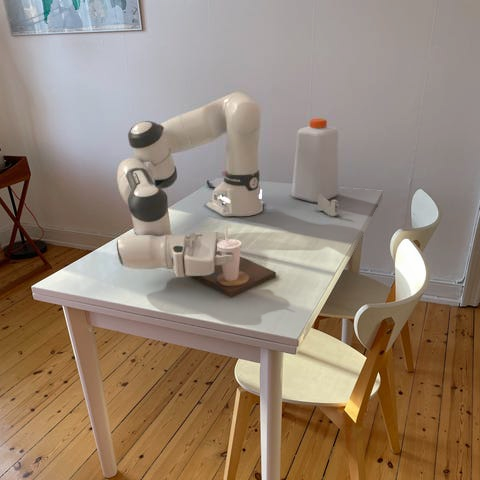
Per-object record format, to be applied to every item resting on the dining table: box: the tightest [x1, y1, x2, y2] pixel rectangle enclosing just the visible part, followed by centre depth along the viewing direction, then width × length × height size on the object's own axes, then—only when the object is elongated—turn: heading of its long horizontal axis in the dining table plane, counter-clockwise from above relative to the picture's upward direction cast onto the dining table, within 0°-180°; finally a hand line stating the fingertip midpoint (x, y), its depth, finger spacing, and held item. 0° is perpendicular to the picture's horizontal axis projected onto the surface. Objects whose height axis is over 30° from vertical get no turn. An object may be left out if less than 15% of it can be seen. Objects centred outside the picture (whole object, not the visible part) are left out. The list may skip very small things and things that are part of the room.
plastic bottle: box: [291, 118, 339, 204], centre depth 186 cm, size 15×15×28 cm
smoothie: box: [217, 226, 243, 281], centre depth 127 cm, size 6×6×14 cm
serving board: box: [192, 250, 277, 298], centre depth 137 cm, size 22×16×2 cm
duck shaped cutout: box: [316, 195, 340, 217], centre depth 174 cm, size 6×1×10 cm
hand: (234, 251), depth 127 cm, fingers open, 7 cm apart
